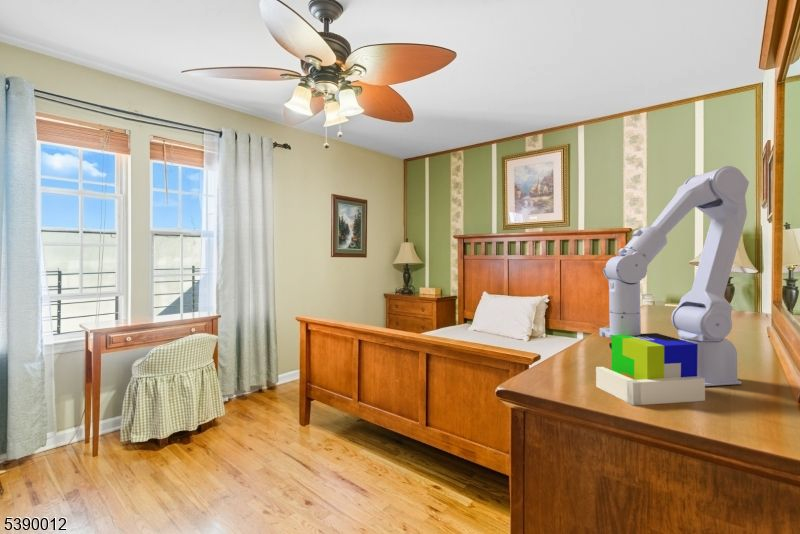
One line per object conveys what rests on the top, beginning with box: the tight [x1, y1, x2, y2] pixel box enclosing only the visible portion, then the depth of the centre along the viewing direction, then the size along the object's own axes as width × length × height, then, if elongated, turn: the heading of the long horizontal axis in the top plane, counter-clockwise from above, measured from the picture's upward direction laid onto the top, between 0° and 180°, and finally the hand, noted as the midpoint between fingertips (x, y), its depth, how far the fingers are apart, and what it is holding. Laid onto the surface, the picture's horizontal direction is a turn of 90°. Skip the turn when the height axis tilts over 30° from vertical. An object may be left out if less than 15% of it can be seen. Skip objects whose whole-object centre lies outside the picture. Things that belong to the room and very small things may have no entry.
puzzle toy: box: [611, 332, 698, 380], centre depth 77 cm, size 10×10×10 cm
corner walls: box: [595, 366, 706, 406], centre depth 76 cm, size 14×11×4 cm
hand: (625, 376), depth 83 cm, fingers closed
